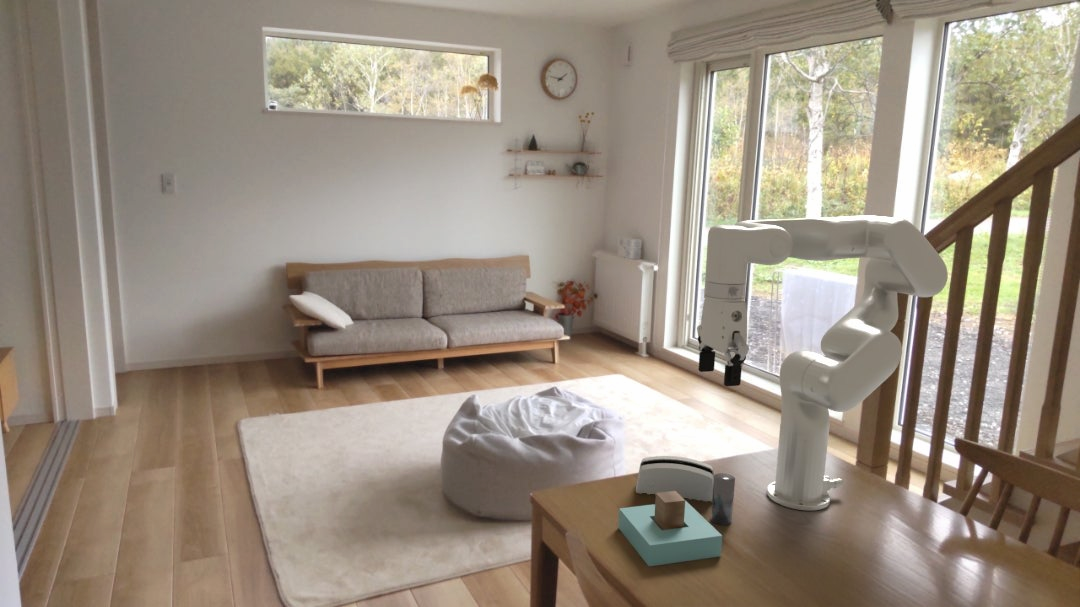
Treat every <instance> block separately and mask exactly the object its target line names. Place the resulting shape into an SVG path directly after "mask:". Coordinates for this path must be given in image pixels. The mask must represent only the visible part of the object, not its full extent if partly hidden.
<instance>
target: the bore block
mask: <svg viewBox="0 0 1080 607" xmlns="http://www.w3.org/2000/svg"><path fill="white" fill-rule="evenodd" d="M654 517H655V503H654V504H645V505H636V506H630V507H629V506H628V507H621V508H619V509H618V525H617V526H618V529H619V530H620V532H621V533H622V534H623V536H624V537H625V539H627V540H628V542H629V543H630V545H631V546H632V547H633V548H634V550H636V552H637V553H638V555H639V556H640V558H642V560H643V561H644V562H645V564H646V565H647V566H648V567H654V566H655V567H656V566H660V565H661V566H662V565H669V564H675V563H683V562H690V561H697V560H703V559H711V558H718V557H721V556H722V543H723V534H721V533H720V532H719V531H718V530H717V529H716V528H715V526H713V525H712V524H711V523H710V522H708V520H707V519H706V518H704V516H702V514H700V513H699V511H697V509H695V507H693V506H692V505H691V504H690V503H689V502H688V501H687V500H685V514H684V528H676V529H669V530H661V529H660V528H659V527H658V525H657V524H656V523H655V522H654Z"/></svg>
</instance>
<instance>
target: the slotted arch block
mask: <svg viewBox="0 0 1080 607" xmlns="http://www.w3.org/2000/svg"><path fill="white" fill-rule="evenodd" d="M714 475H715V473H714V468H713V466H712V465H711V464H710V463H709V464H708V463H706V462H703V461H700V460H697V459H693V458H689V457H683V456H675V455H657V456H649V457H648V456H647V457H644V458H642V459H641V462H640V464H639V470H638V474H637V480H636V484H635V486H636V487H635V493H636V494H642V493H647V494H646V495H650V494H655V495H654V496H656V493H661V492H670V491H676V492H677V493H678V494H679V495H680V496H681V497H682V498H683V499H684V498H689V499H688V500H692V499H697V500H696V501H700V500H703V501H702V502H708V501H711V502H710V503H712V497H713V482H714Z"/></svg>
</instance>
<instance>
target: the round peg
mask: <svg viewBox="0 0 1080 607" xmlns="http://www.w3.org/2000/svg"><path fill="white" fill-rule="evenodd" d="M735 486H736V477H735V476H734V475H731V474H729V473H724V472H722V473H716V474H715V473H714V482H713V497H712V502H711V515H710V520H712V523H714V524H716V525H717V526H718V525H719V526H728V525H731V524H732V523H733V521H732V520H733V513H734V512H733V509H734V500H735V497H734V496H735Z"/></svg>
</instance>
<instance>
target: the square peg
mask: <svg viewBox="0 0 1080 607" xmlns="http://www.w3.org/2000/svg"><path fill="white" fill-rule="evenodd" d="M654 501H655V502H654V504H655V517H654V522H655V523H656V524H657V525H658V527H659V528H660V529H661V530H669V529H676V528H684V514H685V501H686V499H684V498H682V497H681V496H680V495H679V494H678V493H677V492H676V491H670V492H661V493H656V495H655V500H654Z"/></svg>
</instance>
